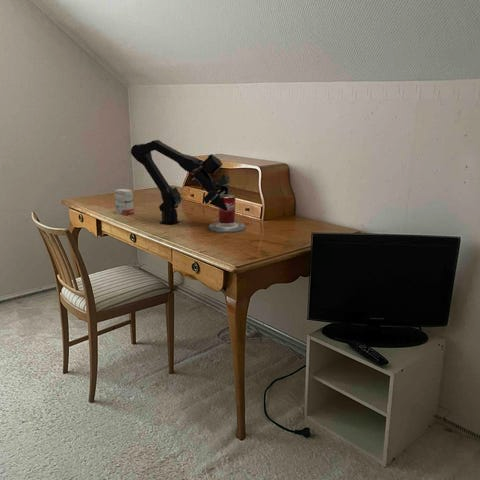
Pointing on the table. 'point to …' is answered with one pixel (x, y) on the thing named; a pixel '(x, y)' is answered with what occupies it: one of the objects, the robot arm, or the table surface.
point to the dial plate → (227, 227)
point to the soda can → (228, 215)
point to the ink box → (124, 201)
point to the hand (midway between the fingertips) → (229, 208)
